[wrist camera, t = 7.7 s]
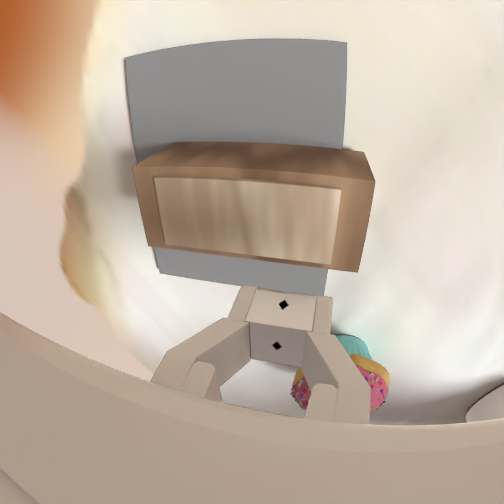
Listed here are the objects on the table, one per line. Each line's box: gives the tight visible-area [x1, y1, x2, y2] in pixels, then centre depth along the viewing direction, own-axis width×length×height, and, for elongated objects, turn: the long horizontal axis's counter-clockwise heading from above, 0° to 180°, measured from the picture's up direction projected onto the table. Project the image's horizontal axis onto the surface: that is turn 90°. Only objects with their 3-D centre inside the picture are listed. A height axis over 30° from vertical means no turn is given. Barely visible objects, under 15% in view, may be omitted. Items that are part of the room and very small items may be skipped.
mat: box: [125, 39, 347, 296], centre depth 19 cm, size 14×18×1 cm
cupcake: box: [291, 335, 389, 413], centre depth 22 cm, size 9×8×12 cm
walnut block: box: [132, 142, 375, 272], centre depth 17 cm, size 5×5×12 cm
